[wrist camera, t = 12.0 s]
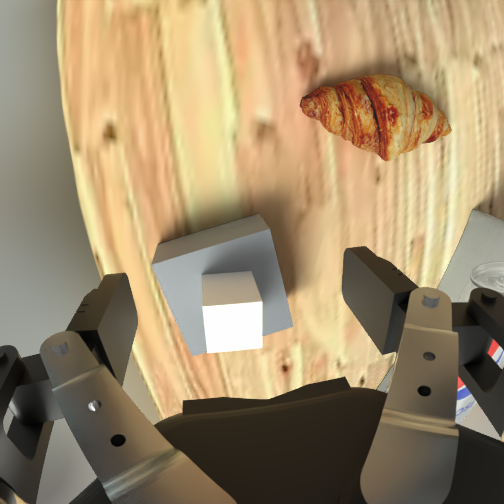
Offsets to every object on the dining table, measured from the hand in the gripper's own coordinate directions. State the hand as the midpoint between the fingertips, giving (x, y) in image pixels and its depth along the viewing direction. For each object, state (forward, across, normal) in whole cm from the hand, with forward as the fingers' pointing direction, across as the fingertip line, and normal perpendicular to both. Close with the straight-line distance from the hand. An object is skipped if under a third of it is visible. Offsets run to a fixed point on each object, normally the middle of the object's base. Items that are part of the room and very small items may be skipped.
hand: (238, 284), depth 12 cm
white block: (+19, 0, +11) cm, 22 cm away
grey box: (+25, 0, +12) cm, 27 cm away
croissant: (+26, -19, -6) cm, 33 cm away
